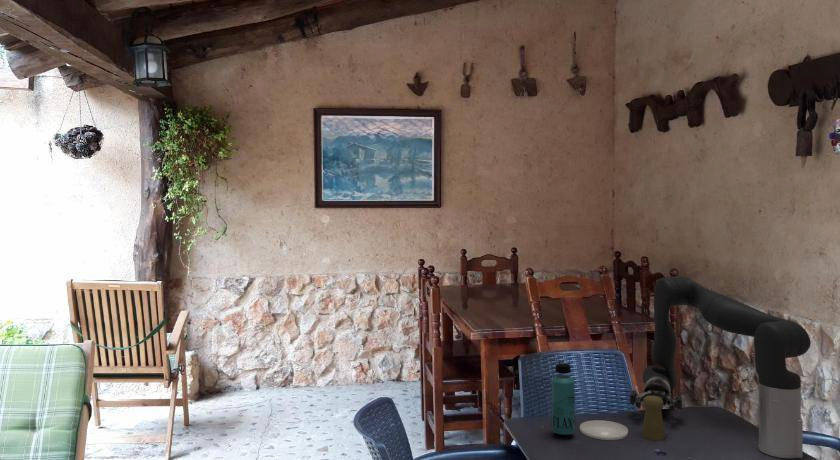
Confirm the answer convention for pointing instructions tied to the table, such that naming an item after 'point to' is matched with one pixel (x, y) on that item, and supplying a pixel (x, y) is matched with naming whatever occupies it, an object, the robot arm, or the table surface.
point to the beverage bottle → (563, 401)
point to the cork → (653, 419)
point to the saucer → (604, 430)
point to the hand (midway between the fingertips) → (654, 406)
